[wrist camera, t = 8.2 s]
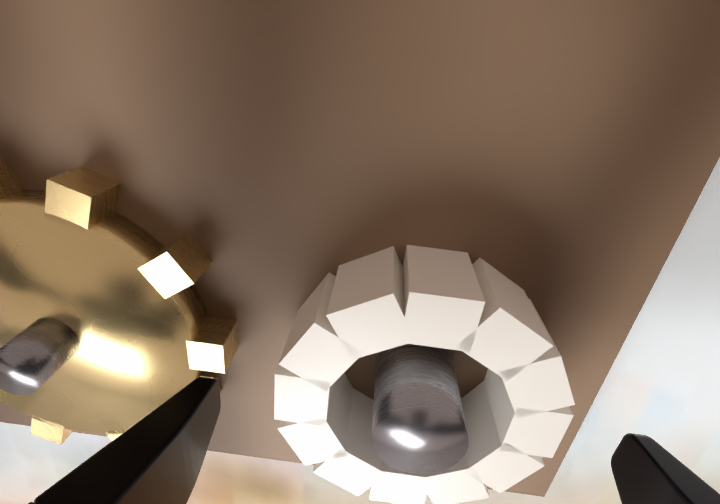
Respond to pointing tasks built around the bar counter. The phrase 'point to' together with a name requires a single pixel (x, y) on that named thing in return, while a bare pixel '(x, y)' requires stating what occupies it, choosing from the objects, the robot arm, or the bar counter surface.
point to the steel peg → (418, 410)
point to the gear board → (379, 155)
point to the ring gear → (434, 329)
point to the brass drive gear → (96, 309)
